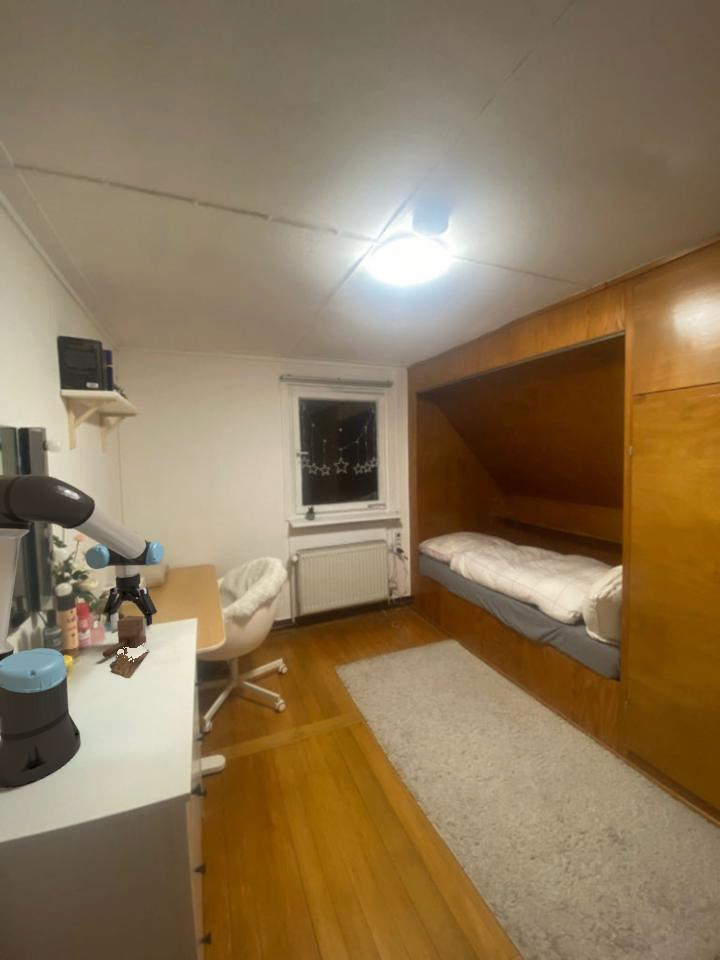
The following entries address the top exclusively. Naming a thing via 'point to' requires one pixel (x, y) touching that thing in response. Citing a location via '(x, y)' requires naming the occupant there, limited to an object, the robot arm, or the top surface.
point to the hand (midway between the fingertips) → (131, 633)
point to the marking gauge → (128, 634)
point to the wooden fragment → (126, 664)
